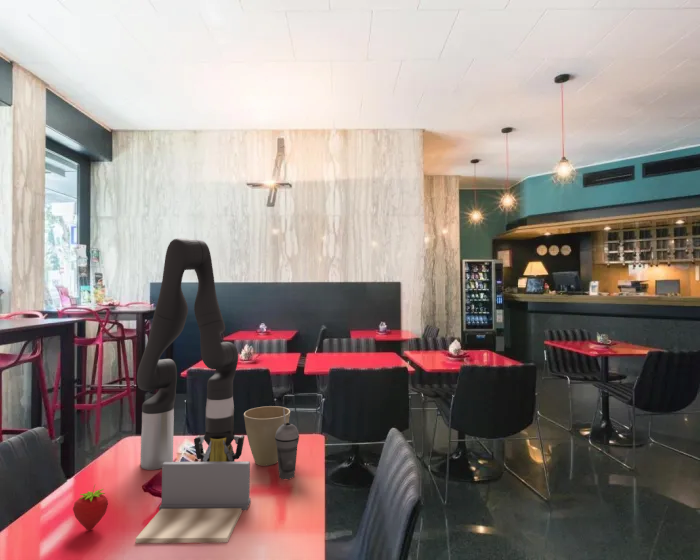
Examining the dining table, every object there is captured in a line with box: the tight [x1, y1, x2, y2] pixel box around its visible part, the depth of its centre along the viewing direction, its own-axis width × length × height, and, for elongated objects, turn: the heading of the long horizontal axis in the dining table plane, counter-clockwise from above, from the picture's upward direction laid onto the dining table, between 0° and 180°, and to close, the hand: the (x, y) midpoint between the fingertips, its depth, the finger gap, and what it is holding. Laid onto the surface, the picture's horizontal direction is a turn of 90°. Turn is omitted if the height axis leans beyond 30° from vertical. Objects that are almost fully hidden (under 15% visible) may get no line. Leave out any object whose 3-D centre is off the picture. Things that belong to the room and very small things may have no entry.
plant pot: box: [243, 405, 291, 467], centre depth 130 cm, size 15×15×16 cm
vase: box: [209, 437, 229, 462], centre depth 112 cm, size 6×6×14 cm
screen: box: [158, 461, 252, 512], centre depth 102 cm, size 22×4×11 cm, turn 91°
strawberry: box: [72, 484, 109, 531], centre depth 92 cm, size 6×8×10 cm
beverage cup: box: [275, 409, 300, 480], centre depth 119 cm, size 7×7×20 cm
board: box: [135, 508, 242, 544], centre depth 93 cm, size 20×12×1 cm, turn 91°
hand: (219, 473), depth 112 cm, fingers closed on vase, 5 cm apart
